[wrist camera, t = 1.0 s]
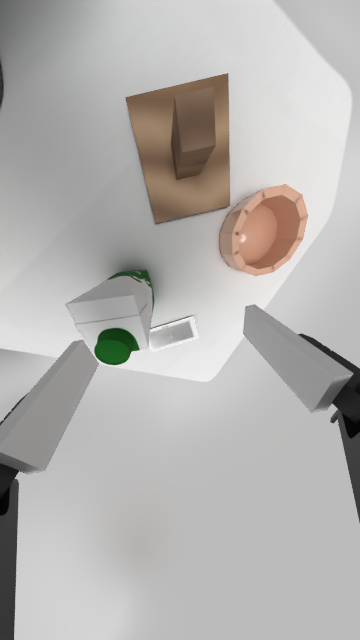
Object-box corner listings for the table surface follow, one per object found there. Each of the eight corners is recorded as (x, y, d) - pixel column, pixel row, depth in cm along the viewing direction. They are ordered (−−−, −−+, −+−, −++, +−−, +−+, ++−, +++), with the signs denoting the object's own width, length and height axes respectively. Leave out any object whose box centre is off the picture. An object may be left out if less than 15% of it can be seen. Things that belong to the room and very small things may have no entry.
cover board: (127, 104, 19) (102, 10, 12) (225, 80, 19) (267, -30, 11) (155, 223, 26) (152, 215, 18) (227, 206, 26) (255, 191, 18)
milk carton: (123, 307, 35) (83, 372, 17) (110, 269, 30) (39, 306, 13) (157, 302, 35) (153, 361, 18) (150, 264, 31) (134, 293, 13)
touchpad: (198, 335, 42) (200, 340, 40) (152, 350, 43) (151, 354, 41) (192, 314, 38) (194, 317, 36) (141, 330, 39) (140, 334, 37)
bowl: (217, 205, 27) (231, 196, 21) (284, 190, 27) (316, 176, 21) (220, 274, 33) (232, 281, 28) (274, 262, 33) (297, 266, 28)
